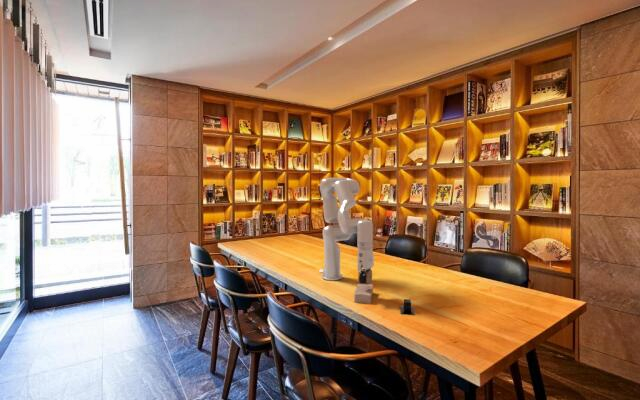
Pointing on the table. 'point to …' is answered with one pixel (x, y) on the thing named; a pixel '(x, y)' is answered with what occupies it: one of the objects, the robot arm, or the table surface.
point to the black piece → (407, 308)
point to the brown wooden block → (367, 277)
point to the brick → (363, 293)
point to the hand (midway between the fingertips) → (365, 281)
